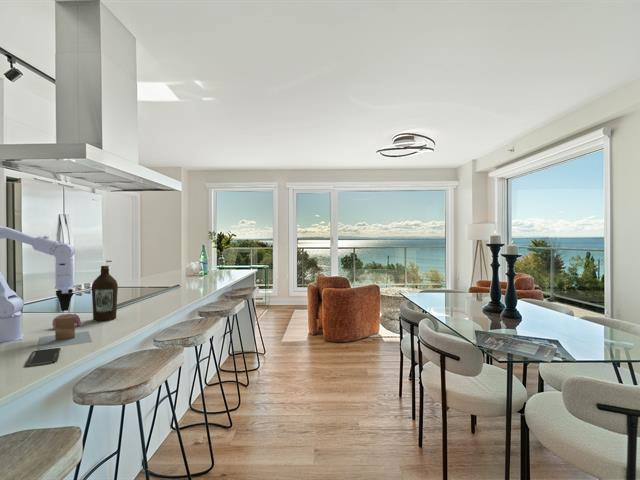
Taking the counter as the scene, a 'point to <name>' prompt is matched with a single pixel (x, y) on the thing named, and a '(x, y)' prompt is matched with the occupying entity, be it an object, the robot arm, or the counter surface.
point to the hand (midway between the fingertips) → (64, 309)
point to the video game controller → (77, 319)
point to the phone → (43, 357)
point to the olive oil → (104, 296)
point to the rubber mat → (50, 340)
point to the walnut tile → (64, 328)
